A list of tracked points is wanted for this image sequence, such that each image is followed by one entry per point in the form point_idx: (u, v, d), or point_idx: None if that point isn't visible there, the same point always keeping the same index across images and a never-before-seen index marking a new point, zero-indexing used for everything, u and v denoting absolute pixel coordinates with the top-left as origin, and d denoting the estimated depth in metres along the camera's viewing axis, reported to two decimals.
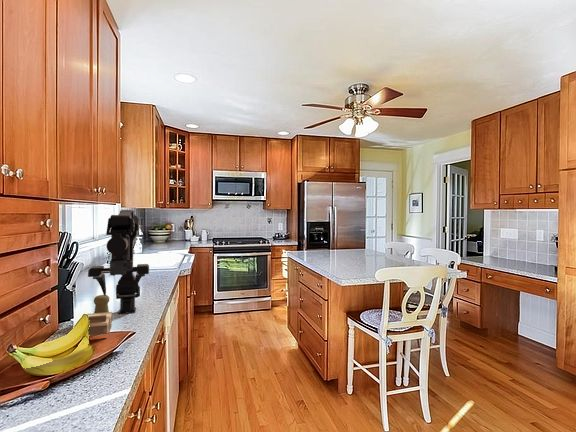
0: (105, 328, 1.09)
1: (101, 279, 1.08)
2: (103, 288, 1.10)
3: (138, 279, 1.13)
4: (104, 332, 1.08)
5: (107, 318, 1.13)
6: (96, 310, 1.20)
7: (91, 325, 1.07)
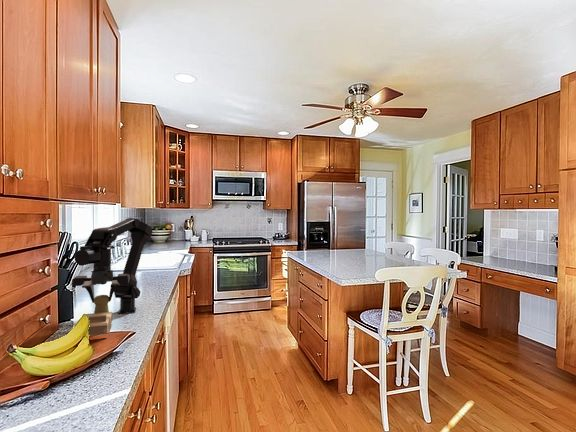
0: (105, 328, 1.09)
1: (89, 288, 1.19)
2: (91, 296, 1.20)
3: (113, 288, 1.22)
4: (104, 332, 1.08)
5: (107, 318, 1.13)
6: (96, 310, 1.20)
7: (91, 325, 1.07)
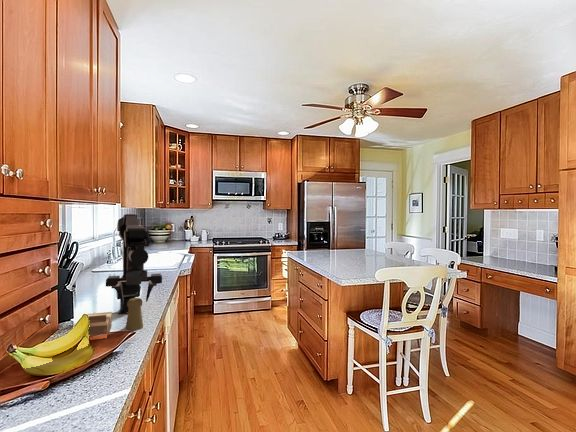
0: (105, 328, 1.09)
1: (119, 288, 1.15)
2: (121, 297, 1.17)
3: (150, 288, 1.20)
4: (104, 332, 1.08)
5: (107, 318, 1.13)
6: (130, 314, 1.17)
7: (91, 325, 1.07)
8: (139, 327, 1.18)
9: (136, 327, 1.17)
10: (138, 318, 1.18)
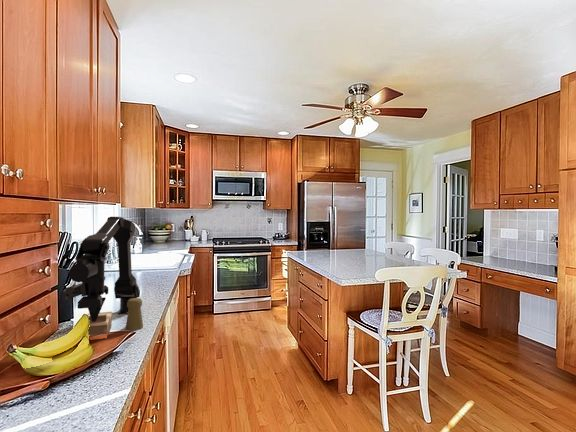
0: (105, 328, 1.09)
1: None
2: None
3: None
4: (104, 332, 1.08)
5: (107, 318, 1.13)
6: (129, 314, 1.17)
7: (91, 325, 1.07)
8: (139, 327, 1.18)
9: (136, 327, 1.17)
10: (138, 318, 1.18)
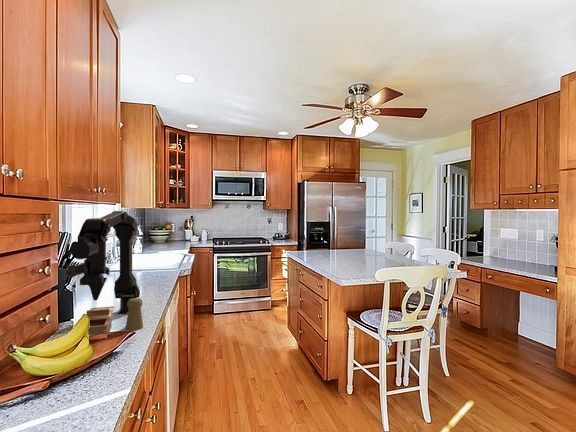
0: (105, 328, 1.09)
1: None
2: None
3: None
4: (104, 332, 1.08)
5: (110, 312, 1.19)
6: (130, 314, 1.17)
7: (95, 318, 1.14)
8: (139, 327, 1.18)
9: (136, 327, 1.17)
10: (138, 318, 1.18)
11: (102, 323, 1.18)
